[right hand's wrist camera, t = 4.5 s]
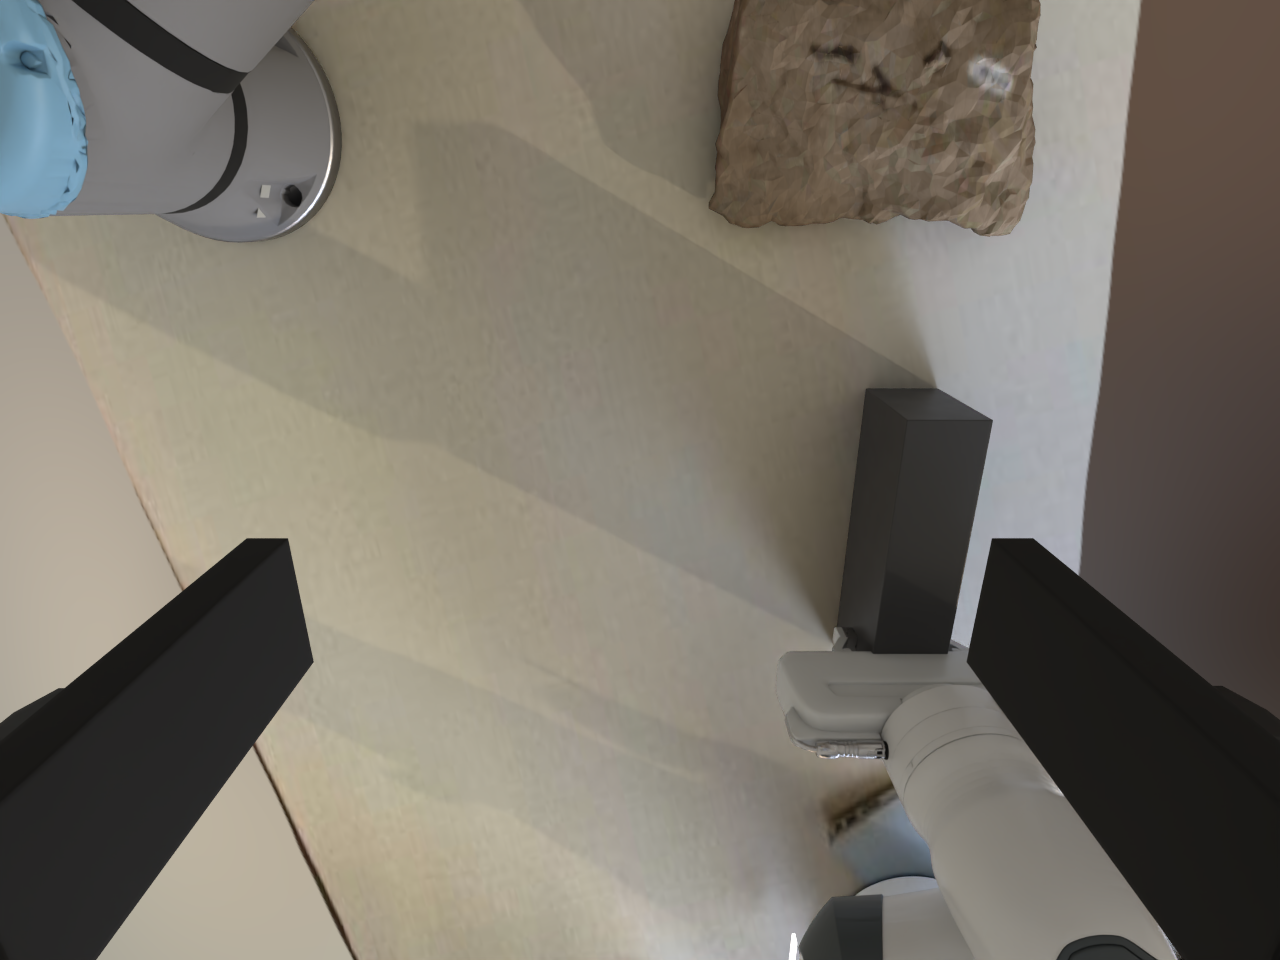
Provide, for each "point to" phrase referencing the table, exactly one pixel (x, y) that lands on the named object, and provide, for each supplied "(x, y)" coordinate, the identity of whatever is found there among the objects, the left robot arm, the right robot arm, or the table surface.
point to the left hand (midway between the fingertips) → (884, 633)
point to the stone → (877, 112)
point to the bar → (911, 519)
